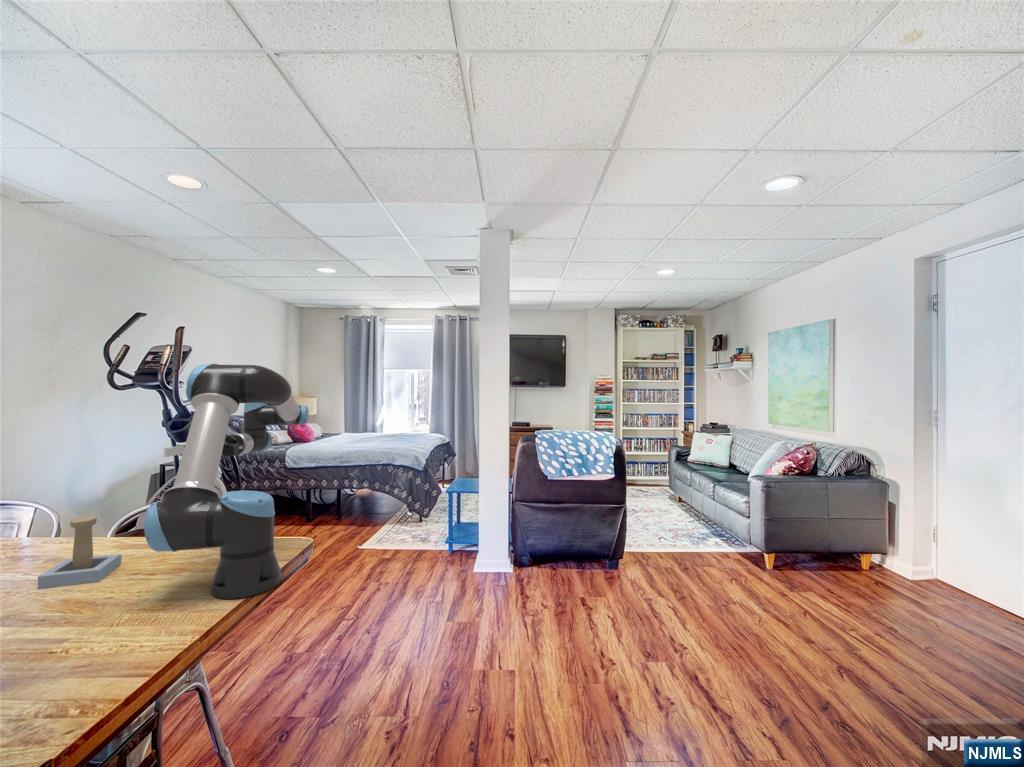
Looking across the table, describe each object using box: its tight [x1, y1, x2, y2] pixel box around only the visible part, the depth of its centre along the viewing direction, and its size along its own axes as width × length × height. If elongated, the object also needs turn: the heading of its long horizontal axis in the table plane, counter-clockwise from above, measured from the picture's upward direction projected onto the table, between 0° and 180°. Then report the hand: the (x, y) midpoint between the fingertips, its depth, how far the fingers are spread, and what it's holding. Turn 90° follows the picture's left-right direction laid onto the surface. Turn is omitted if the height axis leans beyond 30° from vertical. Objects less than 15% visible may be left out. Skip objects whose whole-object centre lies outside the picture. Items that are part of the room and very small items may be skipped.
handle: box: [69, 515, 98, 570], centre depth 116 cm, size 5×6×15 cm
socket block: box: [37, 553, 122, 590], centre depth 116 cm, size 12×12×3 cm
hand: (184, 453), depth 136 cm, fingers open, 13 cm apart
